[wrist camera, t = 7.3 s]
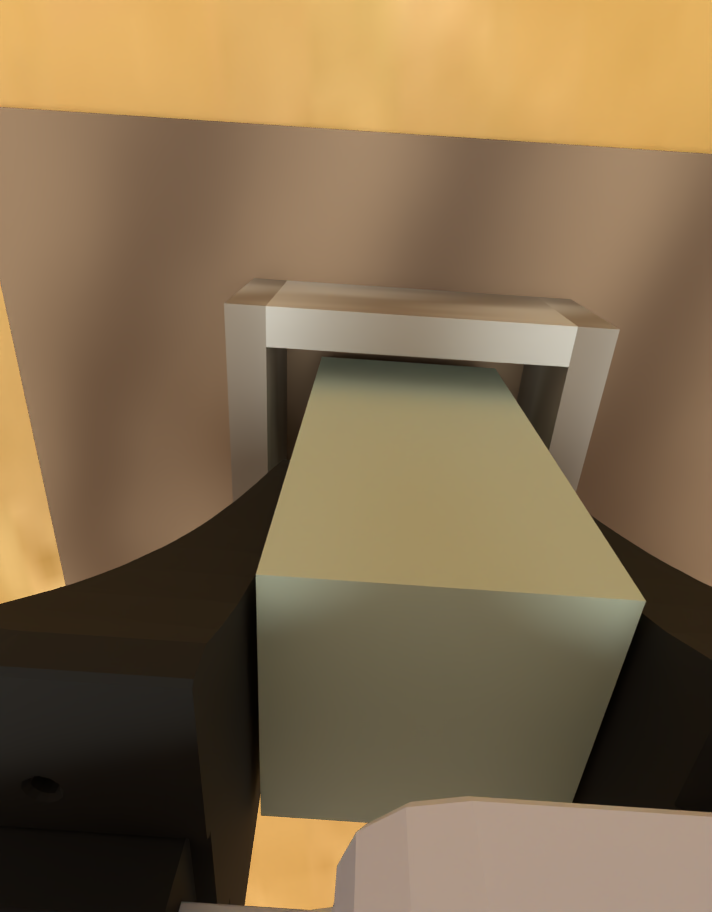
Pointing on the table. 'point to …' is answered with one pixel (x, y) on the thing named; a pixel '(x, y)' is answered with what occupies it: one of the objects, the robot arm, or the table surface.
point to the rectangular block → (429, 602)
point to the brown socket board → (346, 309)
